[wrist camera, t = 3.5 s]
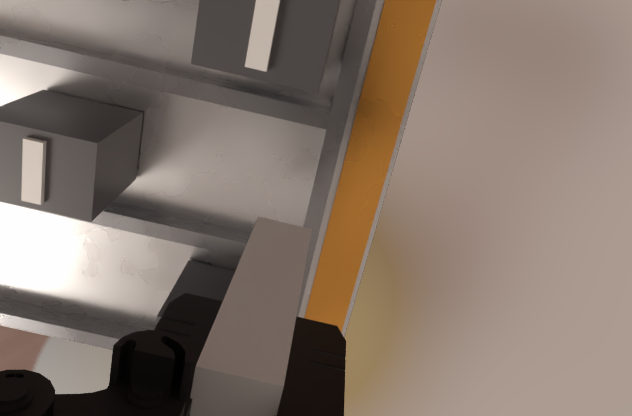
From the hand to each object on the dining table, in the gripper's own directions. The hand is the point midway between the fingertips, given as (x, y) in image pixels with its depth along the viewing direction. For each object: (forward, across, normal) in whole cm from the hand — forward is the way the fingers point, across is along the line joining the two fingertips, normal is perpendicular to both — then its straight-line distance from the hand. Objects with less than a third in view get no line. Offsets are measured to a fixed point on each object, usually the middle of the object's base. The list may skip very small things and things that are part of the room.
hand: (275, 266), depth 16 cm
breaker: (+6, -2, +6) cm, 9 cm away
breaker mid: (+6, -8, 0) cm, 10 cm away
